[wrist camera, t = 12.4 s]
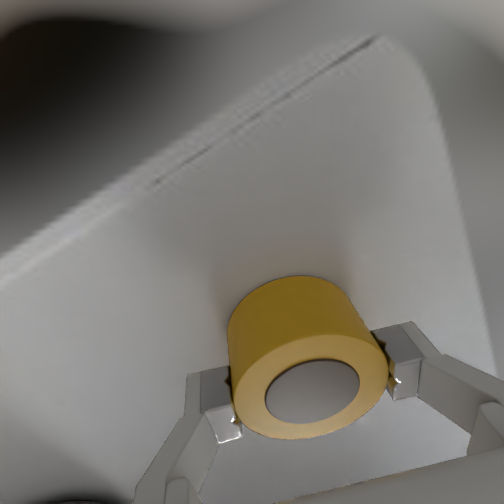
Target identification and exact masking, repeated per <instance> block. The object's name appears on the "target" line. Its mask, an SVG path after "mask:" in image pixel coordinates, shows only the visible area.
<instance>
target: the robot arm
mask: <svg viewBox="0 0 504 504" xmlns="http://www.w3.org/2000/svg"><path fill="white" fill-rule="evenodd" d="M370 333H371V334H372V336H373V337H374V339H375V341H376V342H377V344H378V345H379V347H380V348H381V350H382V352H383V353H384V355H385V357H386V359H387V362H388V370H389V378H388V383H387V386H386V389H387V391H388V393H389V394H390V396H391V398H392V400H393V401H394V400H398V399H403V398H408V397H412V396H417V395H418V396H417V397H418V398H420V399H421V400H423V401H424V402H426V403H427V404H428V405H430V406H431V407H433V408H434V409H435V410H437V411H438V412H440V413H441V414H443V415H444V416H445V417H447V418H448V419H450V420H451V421H452V422H454V423H455V424H457V425H458V426H459V427H461V428H462V429H464V430H465V431H467V432H468V433H469V434H471V437H470V441H469V444H468V448H467V451H466V454H467V455H468V456H464V457H460V458H456V459H452V460H448V461H444V462H440V463H436V464H432V465H428V466H424V467H420V468H415V469H411V470H407V471H403V472H399V473H395V474H391V475H387V476H383V477H379V478H375V479H371V480H367V481H363V482H359V483H354V484H350V485H346V486H342V487H338V488H334V489H330V490H326V491H322V492H318V493H314V494H310V495H306V496H302V497H298V498H294V499H290V500H286V501H281V502H277V503H273V504H504V381H502V380H500V379H498V378H496V377H494V376H491V375H489V374H487V373H485V372H483V371H481V370H479V369H476V368H474V367H472V366H470V365H468V364H466V363H464V362H462V361H459V360H457V359H455V358H453V357H451V356H449V355H447V354H444V355H441V354H440V352H439V351H438V350H437V349H436V348H435V347H434V345H433V344H432V343H431V342H430V341H429V340H428V338H427V337H426V336H425V335H424V334H423V333H422V331H421V330H420V329H419V328H418V327H417V326H416V324H415V323H414V322H412V321H410V322H405V323H401V324H397V325H392V326H388V327H384V328H380V329H376V330H373V331H370ZM241 437H243V434H242V423H241V421H240V419H239V417H238V415H237V414H236V412H235V406H234V403H233V398H232V389H231V374H230V366H229V365H228V366H223V367H219V368H214V369H209V370H204V371H200V372H196V373H191V374H188V376H187V378H186V393H185V408H184V417H183V418H180V419H179V420H178V422H177V423H176V425H175V427H174V428H173V430H172V431H171V433H170V434H169V436H168V437H167V439H166V441H165V442H164V444H163V445H162V447H161V448H160V450H159V451H158V453H157V455H156V456H155V458H154V459H153V461H152V462H151V464H150V465H149V467H148V469H147V470H146V472H145V473H144V475H143V476H142V478H141V479H140V481H139V483H138V484H137V486H136V488H135V494H134V499H133V504H203V503H202V501H201V500H200V498H199V496H198V494H199V492H200V490H201V487H202V485H203V483H204V480H205V478H206V475H207V473H208V471H209V468H210V466H211V464H212V461H213V459H214V456H215V454H216V452H217V449H218V447H219V443H223V442H227V441H230V440H234V439H238V438H241Z"/></svg>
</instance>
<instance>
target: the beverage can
mask: <svg viewBox="0 0 504 504" xmlns="http://www.w3.org/2000/svg"><path fill="white" fill-rule="evenodd" d="M57 504H103V503H98V502H92V501H69V502H62V503H57Z"/></svg>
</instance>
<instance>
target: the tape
mask: <svg viewBox="0 0 504 504" xmlns="http://www.w3.org/2000/svg"><path fill="white" fill-rule="evenodd" d="M227 341H228V353H229V365H230V374H231V389H232V398H233V403H234V406H235V412H236V414H237V415H238V417H239V419H240V421H241V422H242V423H243V424H244V425H245V426H246V427H248V428H249V429H251V430H252V431H254V432H256V433H258V434H260V435H263V436H266V437H271V438H275V439H284V440H296V439H307V438H313V437H318V436H322V435H325V434H328V433H331V432H334V431H337V430H339V429H341V428H343V427H345V426H347V425H349V424H351V423H353V422H354V421H356V420H357V419H359V418H360V417H362V416H363V415H364V414H366V413H367V412H368V411H369V410H370V409H371V408H372V407H373V406H374V405H375V404H376V403H377V402H378V400H379V399H380V397H381V396H382V394H383V393H384V391H385V389H386V386H387V383H388V378H389V370H388V362H387V359H386V357H385V355H384V353H383V352H382V350H381V348H380V347H379V345H378V344H377V342H376V341H375V339H374V337H373V336H372V334H371V333H370V331H369V330H368V328H367V327H366V325H365V323H364V322H363V320H362V319H361V317H360V316H359V314H358V312H357V311H356V309H355V308H354V306H353V305H352V303H351V301H350V300H349V298H348V297H347V296H346V294H345V293H344V292H343V291H342V290H341V289H340V288H339V287H337V286H336V285H334V284H333V283H330V282H328V281H326V280H323V279H320V278H316V277H310V276H292V277H286V278H281V279H278V280H274V281H272V282H269V283H267V284H264V285H262V286H261V287H259V288H257V289H255V290H254V291H253V292H251V293H250V294H249V295H247V296H246V297H245V298H244V299H243V300H242V301H241V302H240V303H239V305H238V306H237V307H236V309H235V310H234V312H233V314H232V316H231V318H230V320H229V324H228V329H227Z"/></svg>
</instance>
